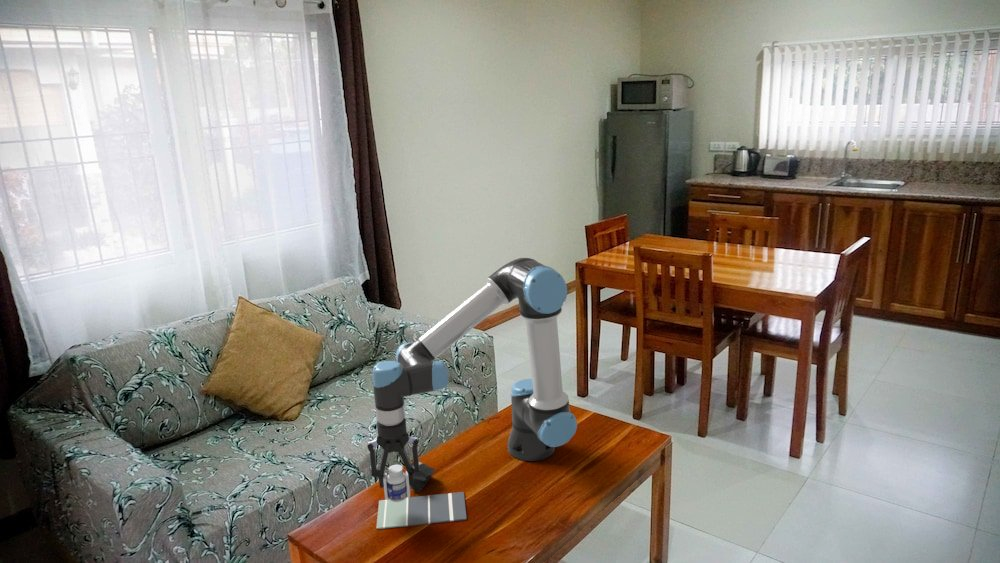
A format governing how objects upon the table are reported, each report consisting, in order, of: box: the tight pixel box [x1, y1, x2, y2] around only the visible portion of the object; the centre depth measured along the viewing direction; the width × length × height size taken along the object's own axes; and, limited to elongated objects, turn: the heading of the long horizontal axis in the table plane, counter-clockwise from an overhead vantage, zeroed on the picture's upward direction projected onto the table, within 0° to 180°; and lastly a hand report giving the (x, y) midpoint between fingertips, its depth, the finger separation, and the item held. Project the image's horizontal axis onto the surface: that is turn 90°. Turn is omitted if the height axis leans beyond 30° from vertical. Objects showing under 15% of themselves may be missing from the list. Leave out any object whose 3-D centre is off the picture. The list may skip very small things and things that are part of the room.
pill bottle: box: [387, 464, 407, 502], centre depth 173 cm, size 5×5×9 cm
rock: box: [410, 461, 435, 493], centre depth 188 cm, size 10×9×6 cm
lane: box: [375, 491, 467, 530], centre depth 177 cm, size 24×12×1 cm, turn 97°
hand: (397, 495), depth 174 cm, fingers closed on pill bottle, 5 cm apart
